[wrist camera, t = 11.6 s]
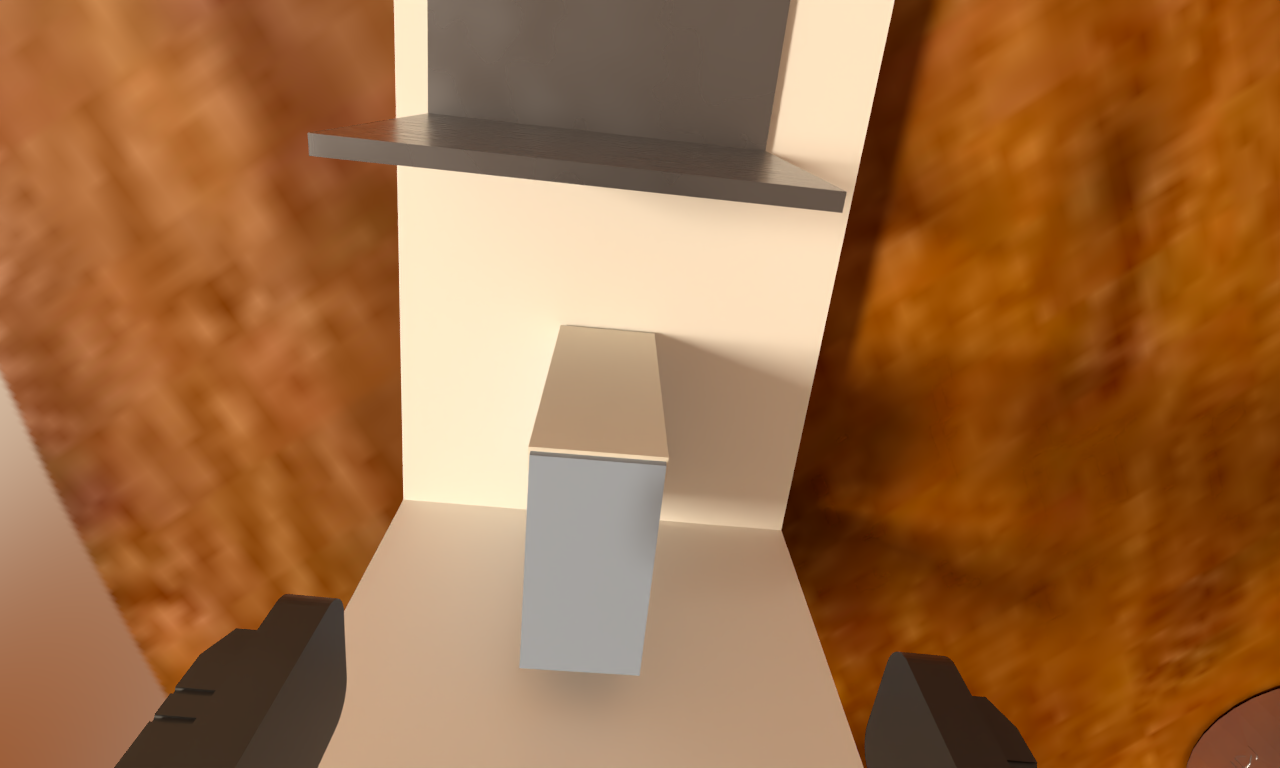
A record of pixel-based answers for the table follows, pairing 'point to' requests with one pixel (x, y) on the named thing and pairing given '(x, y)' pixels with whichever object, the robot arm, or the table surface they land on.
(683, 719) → the shelf
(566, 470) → the small book
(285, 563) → the table surface
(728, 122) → the bookend
